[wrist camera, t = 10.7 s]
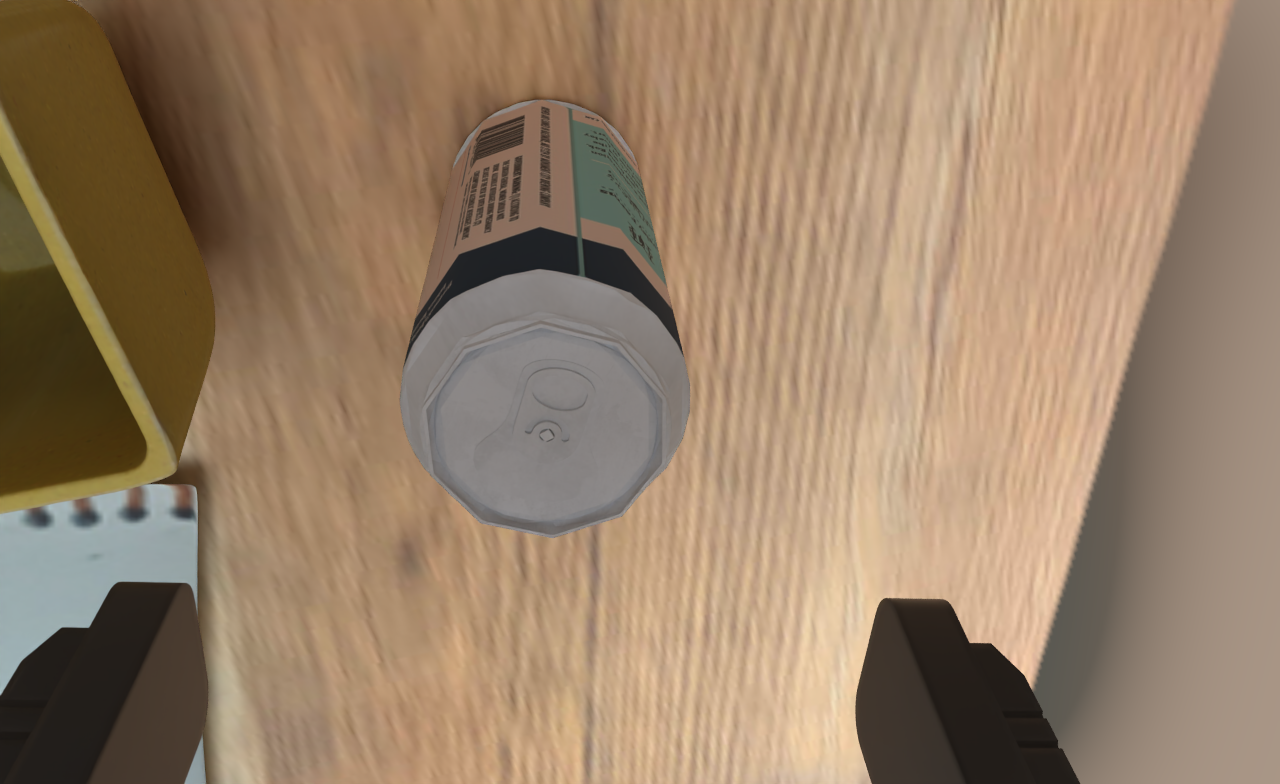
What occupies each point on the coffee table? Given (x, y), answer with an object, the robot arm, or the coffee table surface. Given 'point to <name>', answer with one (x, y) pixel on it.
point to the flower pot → (88, 273)
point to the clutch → (90, 564)
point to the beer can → (545, 329)
